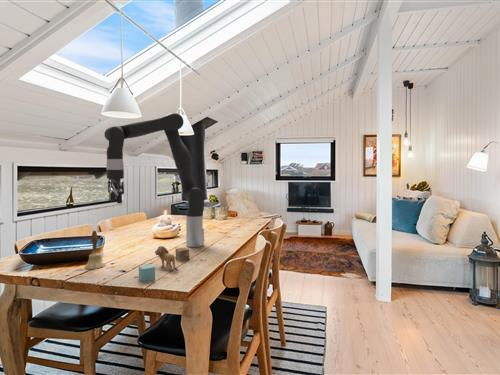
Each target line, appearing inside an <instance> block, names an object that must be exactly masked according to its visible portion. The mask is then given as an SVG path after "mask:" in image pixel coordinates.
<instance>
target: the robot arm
mask: <svg viewBox="0 0 500 375" xmlns="http://www.w3.org/2000/svg"><path fill="white" fill-rule="evenodd" d="M184 122H185V121H184V118H183V116H182V115H181V114H179V113H177V112H171V113H168V114H165V115H164V116H163V117H159V118H154V119H149V120H141V121H136V122H131V123H126V124H124V125H114V126H110V127H108V128H106V129H105V131H104V134H103V136H104V138H105V140H107V141H108V147H107V149H106V165H105V166H106V179H107V180H108V181H107V192H108V194H109V197H110V200H109V202H110V203H114V202H115V203H116V204H122V203H123V195H124V194H125V186H124V185H125V183H124V181H122V180H123V179H124V178H125V172H124V171H125V168H124V166H125V164H124V155H123V153H124V152H123V148H124V144H125V140H126V139H133V138H138V137H143V136H146V135H150V134H153V133H156V132H160V131H164V134H165V136H166V138H167V141H168V144H169V147H170V150H171V154H172V157H173V161H174V164H175V167H176V171H177V174H178V177H179V180H180V183H181V188H182V193H183V198H184V199H185V201H186V202H187V203H188V204H189V205H188V209H187V210H186V212H185V223H186V224H185V225H186V226H185V228H186V229H185V232H186V233H185V235H186V237H185V240H186V242H185V243H186V244H185V245H186V247H189V248H200V247H202V246H205V229H204V228H203V221H204V220H203V218H204V217H203V213H204V210H205V193H204V190H203V189H201V188H199V187H196V185H195V181H194V177H193V169H194V167H193V160H192V157H191V153H190V151H189V150H188V148H187V145H185V144H184V142H183V140H182V138H181V135H180V133H179V130H180V129H181V128H182V127H183V126H184Z"/></svg>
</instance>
